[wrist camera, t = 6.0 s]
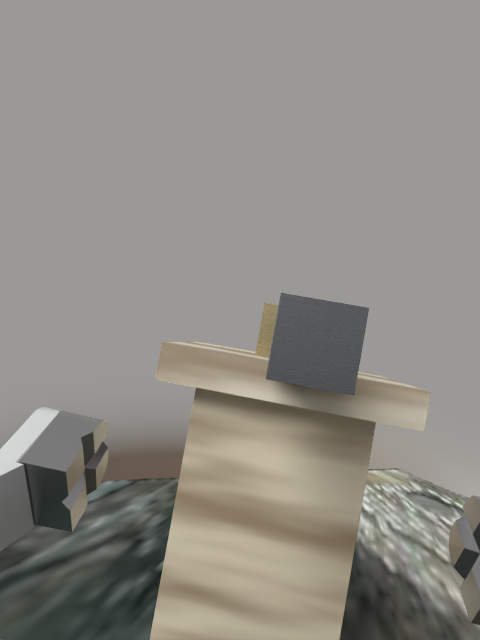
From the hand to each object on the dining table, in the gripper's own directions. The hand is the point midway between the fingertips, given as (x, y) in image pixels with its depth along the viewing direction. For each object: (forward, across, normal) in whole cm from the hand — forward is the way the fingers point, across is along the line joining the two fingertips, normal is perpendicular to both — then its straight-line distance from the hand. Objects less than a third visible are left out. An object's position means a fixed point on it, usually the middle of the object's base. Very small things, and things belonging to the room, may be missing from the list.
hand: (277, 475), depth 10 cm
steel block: (+12, +1, -5) cm, 14 cm away
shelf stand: (+4, +1, -30) cm, 30 cm away
